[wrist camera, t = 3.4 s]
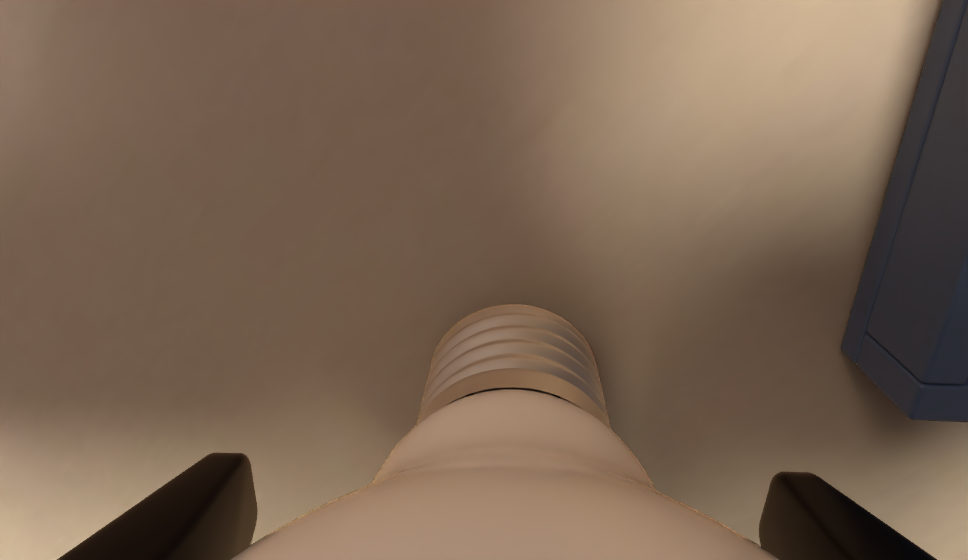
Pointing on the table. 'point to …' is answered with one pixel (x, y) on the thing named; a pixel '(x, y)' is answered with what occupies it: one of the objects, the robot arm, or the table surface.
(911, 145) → the blue tray
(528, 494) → the lightbulb
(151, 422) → the table surface
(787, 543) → the robot arm
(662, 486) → the table surface
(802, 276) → the table surface
